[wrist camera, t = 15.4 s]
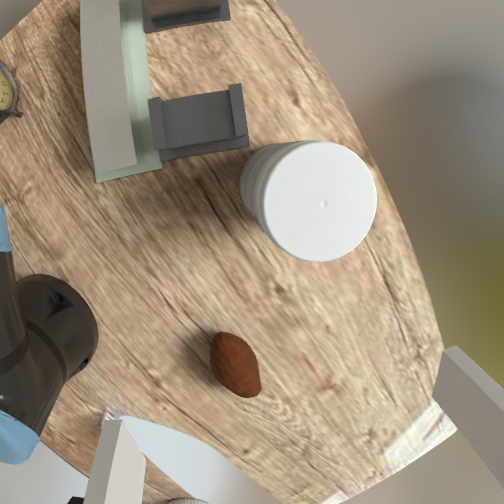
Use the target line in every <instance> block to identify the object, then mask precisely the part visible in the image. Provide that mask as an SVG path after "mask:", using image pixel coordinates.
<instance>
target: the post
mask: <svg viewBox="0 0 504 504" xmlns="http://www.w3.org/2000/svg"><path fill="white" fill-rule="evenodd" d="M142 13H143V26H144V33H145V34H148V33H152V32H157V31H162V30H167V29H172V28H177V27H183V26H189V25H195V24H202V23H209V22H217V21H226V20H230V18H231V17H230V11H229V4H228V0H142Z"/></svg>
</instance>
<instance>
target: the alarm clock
mask: <svg viewBox="0 0 504 504" xmlns="http://www.w3.org/2000/svg"><path fill="white" fill-rule="evenodd" d="M18 100H19V94H18V88H17V85H16V82H15V80H14V78H13V76H12V74H11V72H10V71H9V69H8V68H7V66H6V65H5V64H4V63H3V62H2V61H1V60H0V124H1V123H2V122H3V121H4V120H5V119H6V118H7V117H8V116H9V115H10V114H11V113H12V112H13V113H15V114H17V115H18V116H19V117H22V115H23V113H22V112H19V110H18V109H17V108H16V107H17V105H18Z"/></svg>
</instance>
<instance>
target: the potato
mask: <svg viewBox="0 0 504 504" xmlns="http://www.w3.org/2000/svg"><path fill="white" fill-rule="evenodd" d="M210 362H211V369H212V372H213V374H214V376H215V377H216V379H217V380H218V381H219V382H220V383H221V384H222V385H223V386H224V387H226V388H227V389H229V390H230V391H232V392H233V393H234V394H236V395H238V396H240V397H244V398H251V397H255V396H258V394H259V393H260V391H261V382H260V375H259V369H258V362H257V359H256V356H255V354H254V352H253V351H252V349H251V348H250V346H249V345H248V344H247V342H245V341H244V340H243V339H241V338H240V337H237V336H235V335H233V334H230V333H225V332H219V333H218V334H216V335H215V337H214V339H213V341H212V344H211V352H210Z"/></svg>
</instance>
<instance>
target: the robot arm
mask: <svg viewBox="0 0 504 504" xmlns="http://www.w3.org/2000/svg"><path fill="white" fill-rule="evenodd" d="M12 251H13V246H12V244H11V243H10V238H9V233H8V227H7V219H6V213H5V210H4V208H3V206H2V205H1V204H0V462H3V463H7V464H20V463H23V462H24V461H26V460H28V458H29V457H30V455H31V453H32V452H33V450H34V448H35V447H36V445H37V444H38V443H39V441H40V438H39V437H40V435H41V433H42V430H43V428H44V426H45V424H46V421H47V419H48V417H49V415H50V413H51V410H52V408H53V406H54V404H55V402H56V400H57V398H58V396H59V394H60V392H61V389H62V387H63V385H64V384H65V382H66V381H68V380H69V379H71V378H72V377H73V376H75V375H76V374H77V373H79V372H80V371H81V370H83V369H84V368H85V367H86V366H87V365H88V364H89V362H90V361H91V359H92V357H93V355H94V353H95V350H96V348H97V344H98V328H97V324H96V321H95V318H94V315H93V313H92V311H91V309H90V308H89V306H88V304H87V303H86V301H85V300H84V299H83V298H82V297H81V295H80V294H79V293H78V292H77V291H76V290H75V289H73V288H72V287H71V286H70V285H68V284H67V283H65V282H63V281H62V280H60V279H58V278H55V277H52V276H49V275H43V274H37V275H31V276H28V277H26V278H24V279H22V280H21V281H20V282H18V283H17V282H16V276H15V270H14V264H13V257H12ZM432 397H433V398H434V400H435V401H436V402H437V403H438V405H439V406H440V407H441V408H442V410H443V411H444V412H445V413H446V414H447V416H448V417H449V418H450V419H451V421H452V422H453V423H454V424H455V426H456V427H457V428H458V429H459V431H460V432H461V433H462V434H463V436H464V437H465V438H466V440H467V441H468V442H469V443H470V445H471V446H472V447H473V448H474V450H475V451H476V452H477V454H478V455H479V456H480V458H481V459H482V460H483V461H484V463H485V464H486V465H487V467H488V468H489V469H490V471H491V472H492V473H493V475H494V476H495V477H496V479H497V480H498V481H499V483H500V484H501V485H502V487H503V488H504V390H503V389H502V388H501V387H500V386H499V385H498V384H497V383H496V382H495V381H494V380H493V379H492V378H491V377H490V376H489V375H488V374H487V373H486V372H484V371H483V370H482V369H481V368H480V367H479V366H478V365H477V364H476V363H475V362H474V361H473V360H471V359H470V358H469V357H468V356H467V355H466V354H465V353H464V352H463V351H462V350H461V349H459V348H458V347H457V346H456V345H455V346H453V347H451V348H448V349H446V350H443V353H442V357H441V362H440V366H439V370H438V375H437V379H436V383H435V386H434V390H433V394H432ZM145 467H146V459H145V457H144V456H143V454H142V453H141V451H140V449H139V448H138V446H137V444H136V443H135V441H134V439H133V438H132V436H131V434H130V433H129V431H128V429H127V427H126V426H125V424H124V422H123V420H105V422H104V425H103V428H102V432H101V435H100V439H99V442H98V446H97V450H96V453H95V457H94V461H93V465H92V469H91V473H90V477H89V481H88V485H87V489H86V494H85V498H81V497H72V498H71V499H70V501H69V502H68V504H142V494H143V484H144V475H145Z"/></svg>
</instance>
